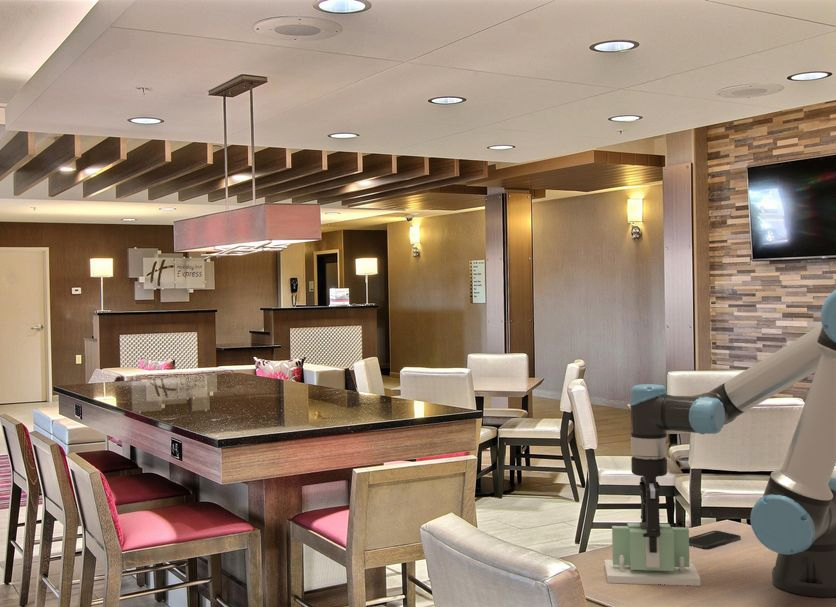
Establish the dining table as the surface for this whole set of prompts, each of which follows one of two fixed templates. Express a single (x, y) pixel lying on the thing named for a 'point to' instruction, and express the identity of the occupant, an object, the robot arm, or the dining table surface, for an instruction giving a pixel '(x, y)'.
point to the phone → (712, 539)
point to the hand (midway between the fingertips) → (650, 560)
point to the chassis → (652, 574)
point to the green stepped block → (634, 546)
